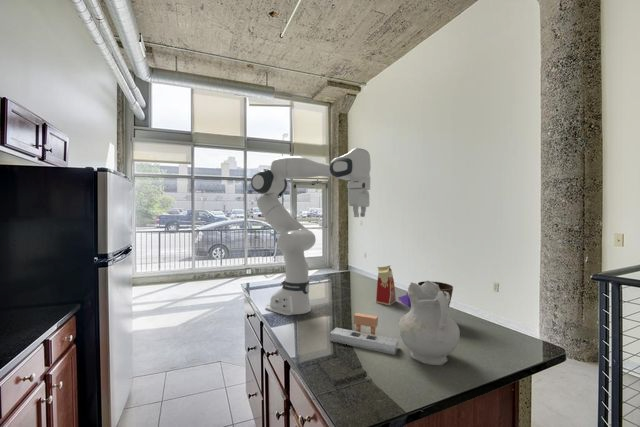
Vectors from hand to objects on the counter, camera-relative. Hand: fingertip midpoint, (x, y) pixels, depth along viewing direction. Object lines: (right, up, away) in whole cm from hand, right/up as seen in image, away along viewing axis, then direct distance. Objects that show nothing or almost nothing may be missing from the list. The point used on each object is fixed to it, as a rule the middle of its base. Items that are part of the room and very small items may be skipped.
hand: (359, 217), depth 132 cm
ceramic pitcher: (+19, -47, -32) cm, 60 cm away
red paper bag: (+18, -46, +29) cm, 58 cm away
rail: (-2, -46, -22) cm, 51 cm away
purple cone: (+30, -47, +29) cm, 63 cm away
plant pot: (+34, -47, +3) cm, 58 cm away
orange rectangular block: (+1, -46, -12) cm, 48 cm away
